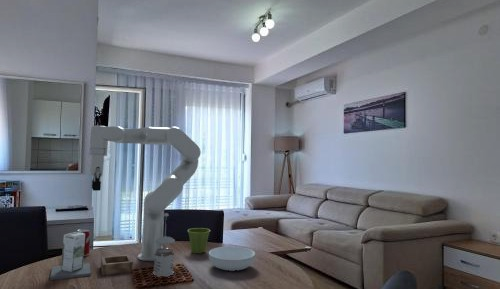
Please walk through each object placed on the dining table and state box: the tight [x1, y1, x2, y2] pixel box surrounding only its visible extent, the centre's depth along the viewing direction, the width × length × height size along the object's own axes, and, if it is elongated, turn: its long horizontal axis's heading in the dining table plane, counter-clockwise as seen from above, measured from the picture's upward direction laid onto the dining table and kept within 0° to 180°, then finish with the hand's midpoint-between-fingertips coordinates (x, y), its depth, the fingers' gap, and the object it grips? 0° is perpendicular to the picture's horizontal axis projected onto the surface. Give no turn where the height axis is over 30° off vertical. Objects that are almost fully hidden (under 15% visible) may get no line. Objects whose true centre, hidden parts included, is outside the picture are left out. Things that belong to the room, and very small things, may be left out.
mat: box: [49, 262, 92, 281], centre depth 136 cm, size 14×14×1 cm
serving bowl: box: [208, 246, 256, 272], centre depth 150 cm, size 21×21×7 cm
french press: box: [152, 212, 176, 276], centre depth 140 cm, size 10×12×25 cm
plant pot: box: [187, 227, 211, 254], centre depth 173 cm, size 12×12×11 cm
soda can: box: [76, 228, 92, 258], centre depth 159 cm, size 7×7×12 cm
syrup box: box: [60, 231, 85, 272], centre depth 137 cm, size 6×6×14 cm
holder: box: [100, 254, 134, 276], centre depth 142 cm, size 11×11×4 cm
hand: (95, 189), depth 154 cm, fingers open, 9 cm apart
